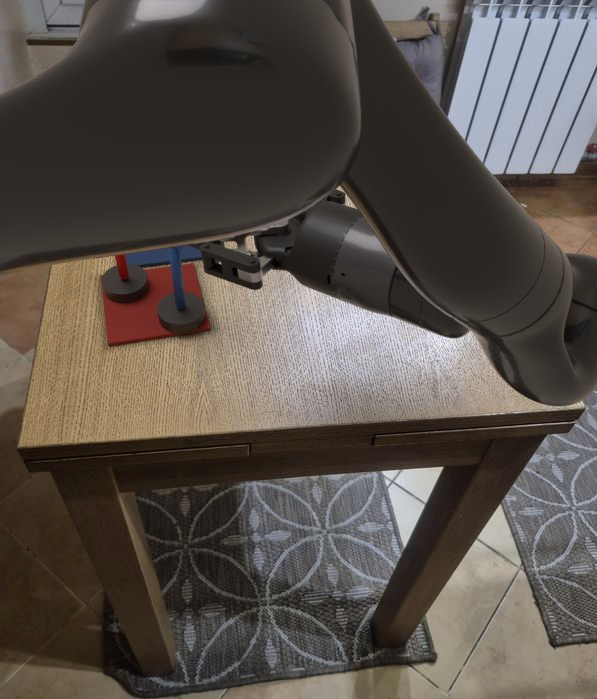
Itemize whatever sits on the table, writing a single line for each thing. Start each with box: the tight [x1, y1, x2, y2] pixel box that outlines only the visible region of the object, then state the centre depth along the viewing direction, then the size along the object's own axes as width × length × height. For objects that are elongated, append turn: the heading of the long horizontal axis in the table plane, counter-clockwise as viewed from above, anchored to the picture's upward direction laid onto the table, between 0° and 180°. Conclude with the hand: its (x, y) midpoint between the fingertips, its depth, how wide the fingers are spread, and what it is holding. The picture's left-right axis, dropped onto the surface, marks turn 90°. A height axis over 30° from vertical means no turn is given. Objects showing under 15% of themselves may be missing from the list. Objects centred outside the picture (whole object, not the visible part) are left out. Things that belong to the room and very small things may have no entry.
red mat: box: [99, 262, 211, 347], centre depth 77 cm, size 12×12×1 cm
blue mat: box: [125, 245, 202, 269], centre depth 86 cm, size 12×12×1 cm
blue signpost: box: [157, 245, 206, 333], centre depth 69 cm, size 6×6×16 cm
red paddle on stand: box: [100, 254, 149, 303], centre depth 72 cm, size 6×6×16 cm
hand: (216, 208), depth 58 cm, fingers open, 8 cm apart
